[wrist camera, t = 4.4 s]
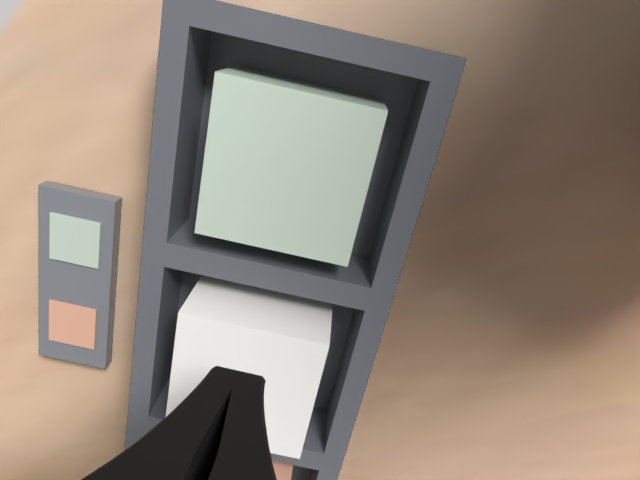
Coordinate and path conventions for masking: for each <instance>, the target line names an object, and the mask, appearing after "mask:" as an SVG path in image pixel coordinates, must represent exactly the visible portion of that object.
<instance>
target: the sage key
mask: <svg viewBox="0 0 640 480" xmlns="http://www.w3.org/2000/svg"><path fill="white" fill-rule="evenodd" d="M387 114H388V109H387V107H386V105H385V103H384V101H383V99H381V98H377V97H373V96H368V95H364V94H360V93H355V92H351V91H347V90H342V89H338V88H333V87H329V86H325V85H320V84H316V83H312V82H307V81H303V80H299V79H294V78H290V77H286V76H281V75H277V74H272V73H268V72H264V71H259V70H255V69H251V68H246V67H242V66H234V67H230V68H226V69H222V70H219V71H215V75H214V83H213V90H212V98H211V106H210V114H209V122H208V130H207V138H206V146H205V153H204V161H203V169H202V177H201V185H200V193H199V201H198V208H197V216H196V224H195V232H194V233H196V234H201V235H206V236H210V237H215V238H219V239H224V240H228V241H233V242H237V243H242V244H246V245H251V246H255V247H260V248H264V249H269V250H273V251H278V252H282V253H287V254H291V255H296V256H300V257H305V258H309V259H314V260H318V261H323V262H327V263H332V264H337V265H341V266H346V267H348V264H349V260H350V256H351V252H352V248H353V244H354V241H355V237H356V233H357V229H358V225H359V221H360V218H361V214H362V210H363V206H364V202H365V198H366V195H367V191H368V187H369V183H370V179H371V175H372V172H373V168H374V164H375V160H376V156H377V152H378V149H379V145H380V141H381V137H382V133H383V129H384V126H385V122H386V118H387Z"/></svg>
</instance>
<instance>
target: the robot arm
mask: <svg viewBox="0 0 640 480" xmlns="http://www.w3.org/2000/svg"><path fill="white" fill-rule="evenodd" d="M265 382H266V380H265V379H264V378H263V376H260V375H255V374H251V373H246V372H242V371H237V370H233V369H229V368H224V367H220V366H215V367H213V368H212V369H211V370H210V371H209V373H208V374H207V375H206V376H205V378H204V379H203V380H202V381H201V382H200V383H199V384H198V386H197V387H196V388H195V389H194V390H193V391H192V392H191V393H190V394H189V395H188V396H187V397H186V398H185V399H184V400H183V401H182V402H181V403H180V404H179V405H178V406H177V407H176V408H175V409H174V410H173V411H172V412H171V413H170V414H169V415H168V416H166V417H165V418H164V419H163V420H162V421H161V422H160V423H158V424H157V425H156V426H155V427H154V428H153V429H151V430H150V431H149V432H148V433H147V434H146V435H144V436H143V437H142V438H141V439H139V440H138V441H137V442H136V443H134V444H133V445H132V446H130V447H129V448H128V449H126V450H125V451H124V452H122V453H121V454H119V455H118V456H117V457H115V458H114V459H112V460H111V461H109V462H108V463H106V464H105V465H103V466H102V467H100V468H99V469H97V470H96V471H94V472H93V473H91V474H89V475H88V476H86V477H85V478H83V479H81V480H277V479H276V475H275V471H274V467H273V463H272V458H271V454H270V449H269V443H268V437H267V430H266V423H265V413H264V387H265Z"/></svg>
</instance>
